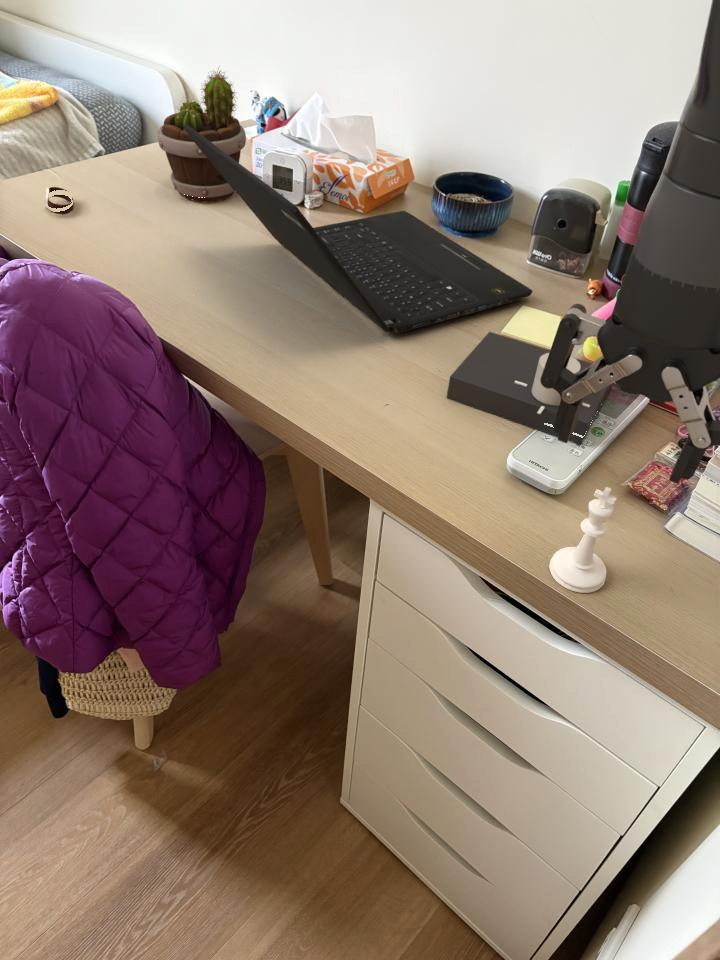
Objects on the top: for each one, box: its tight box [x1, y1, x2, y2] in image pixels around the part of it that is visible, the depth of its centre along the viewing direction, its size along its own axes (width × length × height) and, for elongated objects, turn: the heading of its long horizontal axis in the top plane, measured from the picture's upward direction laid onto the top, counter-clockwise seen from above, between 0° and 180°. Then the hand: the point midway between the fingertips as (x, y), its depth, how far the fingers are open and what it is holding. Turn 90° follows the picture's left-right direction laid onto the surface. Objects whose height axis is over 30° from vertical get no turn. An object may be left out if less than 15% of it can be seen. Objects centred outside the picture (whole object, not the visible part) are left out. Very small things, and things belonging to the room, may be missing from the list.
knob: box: [532, 353, 581, 406], centre depth 78 cm, size 4×4×4 cm
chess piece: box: [549, 486, 617, 594], centre depth 60 cm, size 5×5×10 cm
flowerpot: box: [156, 65, 247, 203], centre depth 120 cm, size 14×15×20 cm
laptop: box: [184, 124, 533, 334], centre depth 97 cm, size 33×38×19 cm
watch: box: [44, 186, 74, 215], centre depth 117 cm, size 8×5×4 cm, turn 17°
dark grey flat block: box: [446, 331, 614, 446], centre depth 83 cm, size 16×13×3 cm
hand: (619, 456), depth 55 cm, fingers open, 8 cm apart
